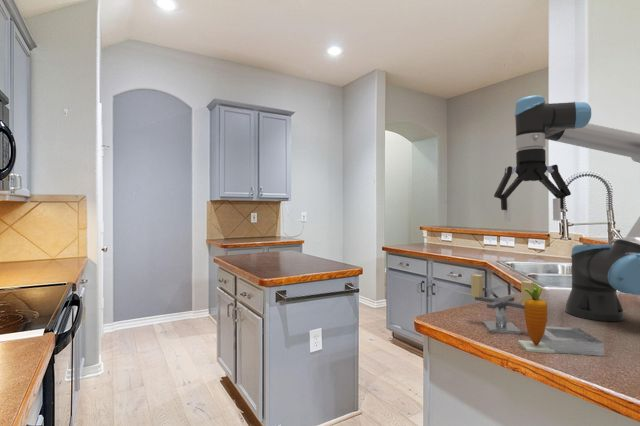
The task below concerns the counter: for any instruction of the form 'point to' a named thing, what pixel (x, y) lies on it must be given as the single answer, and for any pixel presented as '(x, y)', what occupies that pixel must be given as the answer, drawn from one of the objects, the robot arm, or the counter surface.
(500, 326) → the square base pedestal
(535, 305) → the carrot
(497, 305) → the handwheel
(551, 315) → the counter surface
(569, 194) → the robot arm
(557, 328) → the gray square frame
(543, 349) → the pad
